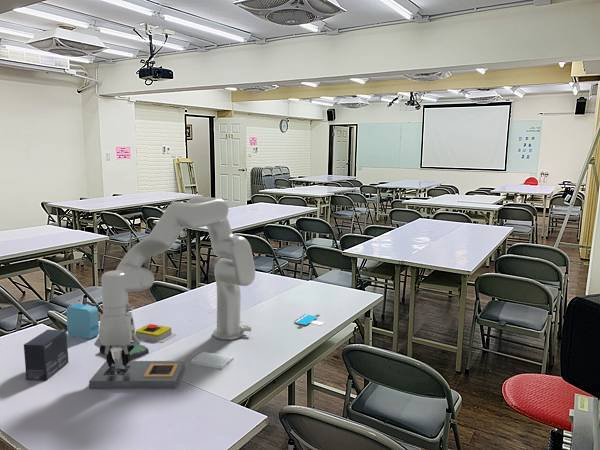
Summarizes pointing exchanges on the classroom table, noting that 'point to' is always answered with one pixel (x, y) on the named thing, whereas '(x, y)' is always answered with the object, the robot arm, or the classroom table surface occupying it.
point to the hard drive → (212, 360)
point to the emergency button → (155, 333)
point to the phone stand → (307, 320)
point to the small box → (46, 354)
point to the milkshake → (117, 359)
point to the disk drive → (135, 351)
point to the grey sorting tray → (139, 375)
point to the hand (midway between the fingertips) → (118, 363)
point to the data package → (82, 321)
